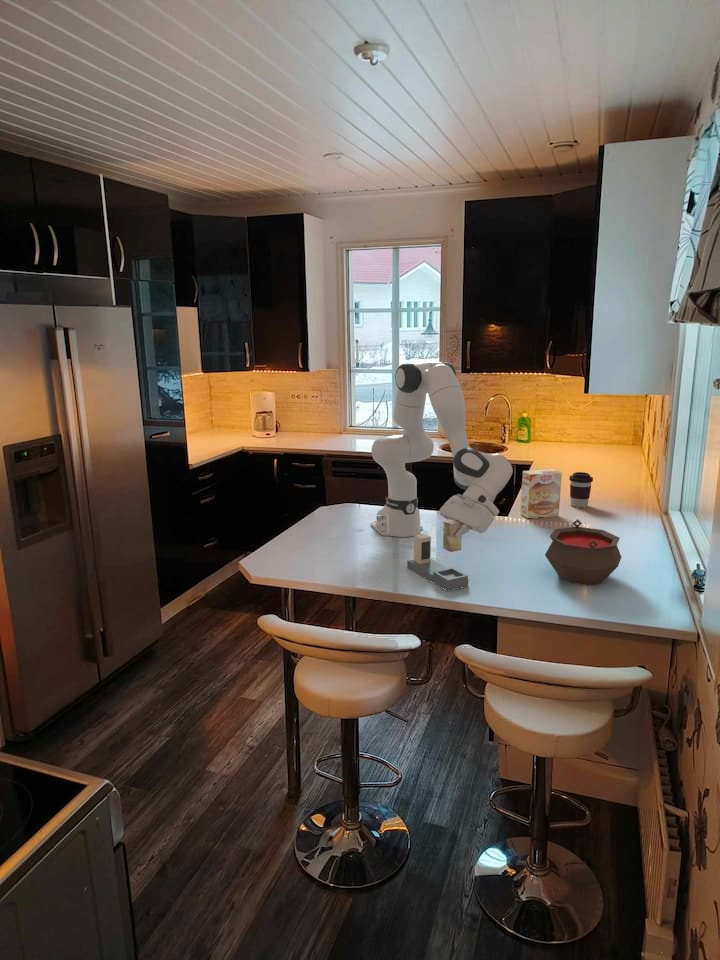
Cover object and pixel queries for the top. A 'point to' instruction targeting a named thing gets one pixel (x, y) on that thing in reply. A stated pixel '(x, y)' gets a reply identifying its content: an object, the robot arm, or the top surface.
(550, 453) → the top surface
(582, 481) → the coffee cup
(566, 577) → the brown cauldron
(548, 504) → the coffeecake box
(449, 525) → the block
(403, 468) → the robot arm
